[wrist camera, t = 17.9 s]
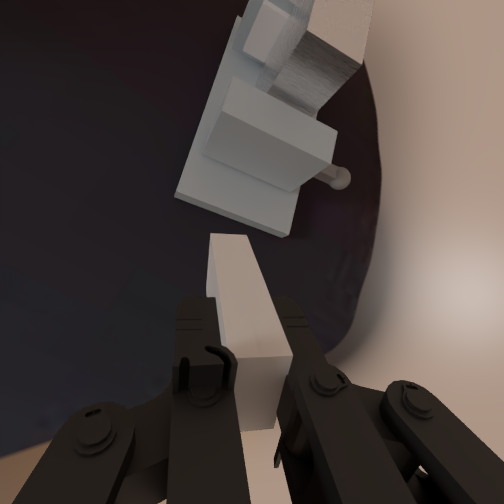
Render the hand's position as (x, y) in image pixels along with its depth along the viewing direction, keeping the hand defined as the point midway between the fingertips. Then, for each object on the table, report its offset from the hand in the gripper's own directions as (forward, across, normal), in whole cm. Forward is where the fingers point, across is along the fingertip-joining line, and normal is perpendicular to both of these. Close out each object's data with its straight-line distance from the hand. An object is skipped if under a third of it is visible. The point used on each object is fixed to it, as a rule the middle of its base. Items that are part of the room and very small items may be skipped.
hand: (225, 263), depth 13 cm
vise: (+21, +5, +4) cm, 22 cm away
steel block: (+21, +6, +5) cm, 23 cm away
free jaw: (+17, +6, +1) cm, 18 cm away
